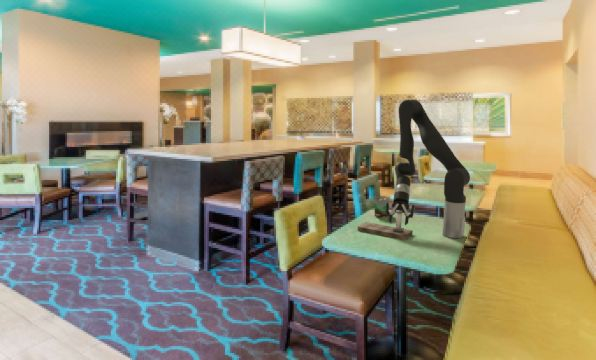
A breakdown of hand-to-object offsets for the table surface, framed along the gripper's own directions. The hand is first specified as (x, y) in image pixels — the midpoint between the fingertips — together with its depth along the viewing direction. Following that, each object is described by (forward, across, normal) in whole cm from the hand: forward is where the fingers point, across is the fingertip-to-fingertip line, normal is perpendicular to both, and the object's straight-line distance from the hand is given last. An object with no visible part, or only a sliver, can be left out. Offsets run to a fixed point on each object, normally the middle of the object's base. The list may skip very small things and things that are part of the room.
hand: (398, 223), depth 183 cm
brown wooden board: (+2, -7, +7) cm, 10 cm away
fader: (+2, 0, +4) cm, 4 cm away
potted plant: (-20, -12, +29) cm, 37 cm away
